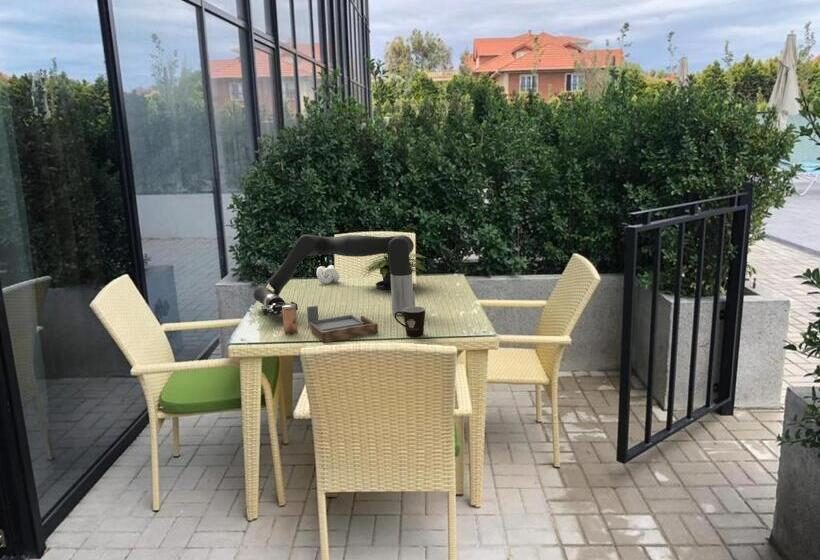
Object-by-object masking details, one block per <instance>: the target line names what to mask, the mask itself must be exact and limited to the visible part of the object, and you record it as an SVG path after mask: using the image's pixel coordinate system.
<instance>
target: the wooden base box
mask: <svg viewBox="0 0 820 560" xmlns="http://www.w3.org/2000/svg"><path fill="white" fill-rule="evenodd" d="M360 320H361V321H362V322H364V323H365V325H360V326H353V327H347V328H341V329H335V330H328V331H323V330H321V329H320V328H319V327H318V326H316V325H315V324H311V327H310V330H311V332H312V333H311V334H312V335H314V336H315V337H316V338H317V339H318V340H320V341H321V343H328V342H336V341H341V340H347V339H353V337H354V338H359V337H358V336H360V337H366V336H371V335H370V334H372V335H377V334H376V333H378V334H379V328H378V327H379V326H378V323H377V322H373V320H371V319H369V318H368V317H366V316H364V315H363V316H360ZM365 335H366V336H365Z"/></svg>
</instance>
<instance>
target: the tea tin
mask: <svg viewBox="0 0 820 560" xmlns="http://www.w3.org/2000/svg"><path fill="white" fill-rule="evenodd" d="M282 321H283V333H285V334H284V335H288V334H290V335H295V334H294V333H296V334H297V333H298V331H299V330H298V322H297V321H298V320H297V310H296V305H295V304H291V303H289V304H285V305H282Z"/></svg>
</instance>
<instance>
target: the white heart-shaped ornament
mask: <svg viewBox="0 0 820 560" xmlns="http://www.w3.org/2000/svg"><path fill="white" fill-rule="evenodd" d="M316 277H317V280H318V281H319V282H320V283H321V284H323V285H329V284H331V282H332V283H337V282H339V280H340V273H339V272H338V270H337V269H336V268H335V266H334V265H332V264H330V265H328V266H327V267H325V266H319V267H317V269H316Z"/></svg>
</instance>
